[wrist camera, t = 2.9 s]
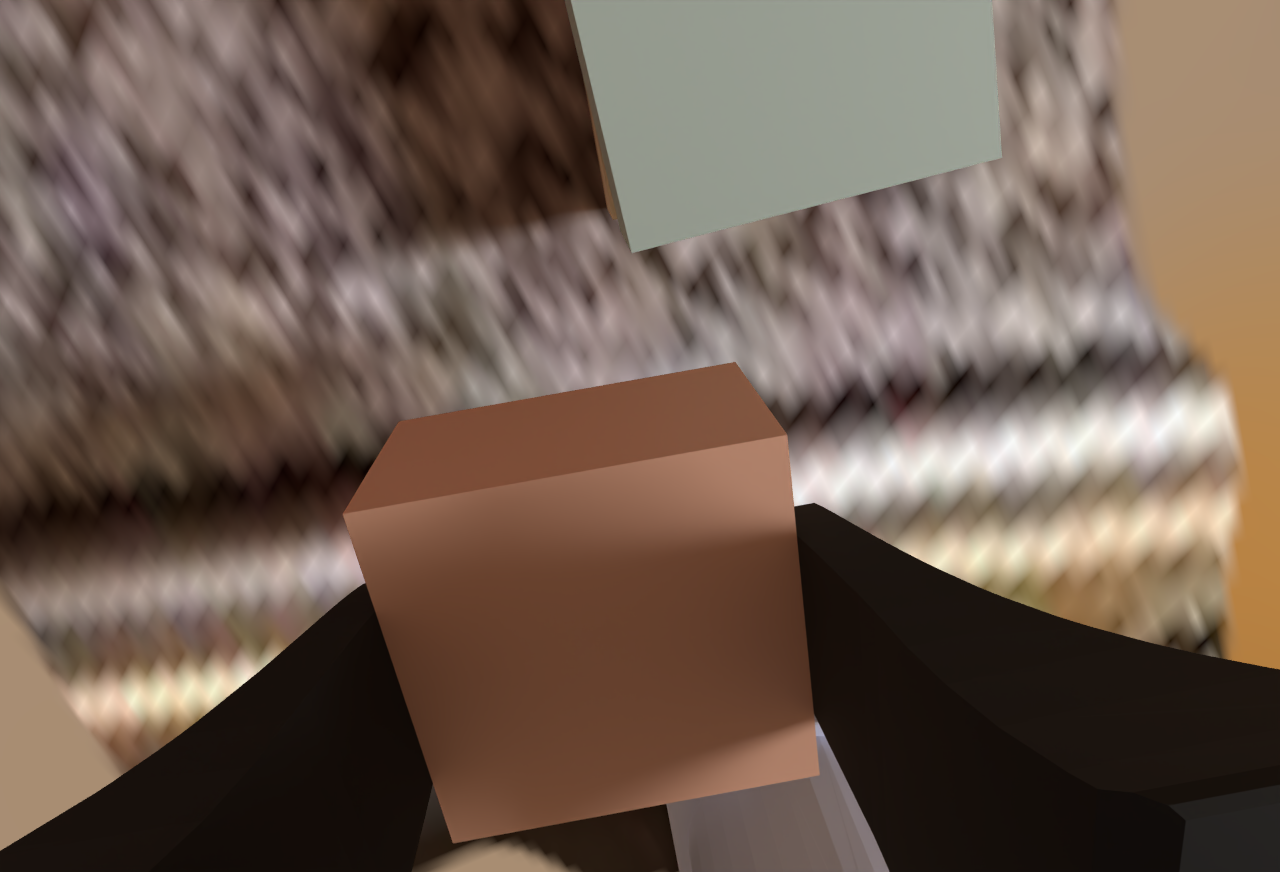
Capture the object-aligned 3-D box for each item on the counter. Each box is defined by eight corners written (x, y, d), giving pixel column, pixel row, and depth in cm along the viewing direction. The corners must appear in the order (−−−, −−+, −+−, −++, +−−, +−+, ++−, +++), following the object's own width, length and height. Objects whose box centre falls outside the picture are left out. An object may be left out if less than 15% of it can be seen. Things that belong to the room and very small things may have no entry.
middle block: (922, 154, 15) (1001, 157, 12) (620, 231, 15) (631, 252, 12) (885, -223, 13) (971, -322, 10) (532, -130, 13) (522, -203, 10)
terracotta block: (767, 641, 13) (820, 774, 11) (478, 694, 13) (453, 843, 10) (735, 361, 12) (787, 435, 9) (398, 421, 11) (342, 513, 9)
